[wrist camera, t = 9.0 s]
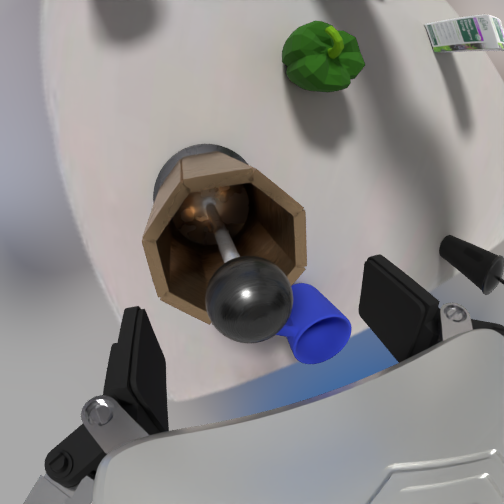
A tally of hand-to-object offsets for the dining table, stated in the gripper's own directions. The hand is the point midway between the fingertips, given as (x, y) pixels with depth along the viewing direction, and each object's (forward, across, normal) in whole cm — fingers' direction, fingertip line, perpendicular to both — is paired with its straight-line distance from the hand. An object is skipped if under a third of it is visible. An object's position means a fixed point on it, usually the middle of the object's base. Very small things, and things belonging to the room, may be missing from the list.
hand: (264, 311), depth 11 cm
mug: (+24, -8, +18) cm, 31 cm away
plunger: (+18, +1, +1) cm, 18 cm away
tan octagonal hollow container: (+24, +1, +2) cm, 24 cm away
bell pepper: (+25, -13, -14) cm, 32 cm away
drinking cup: (+25, -44, +17) cm, 54 cm away
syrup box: (+26, -41, -24) cm, 54 cm away
